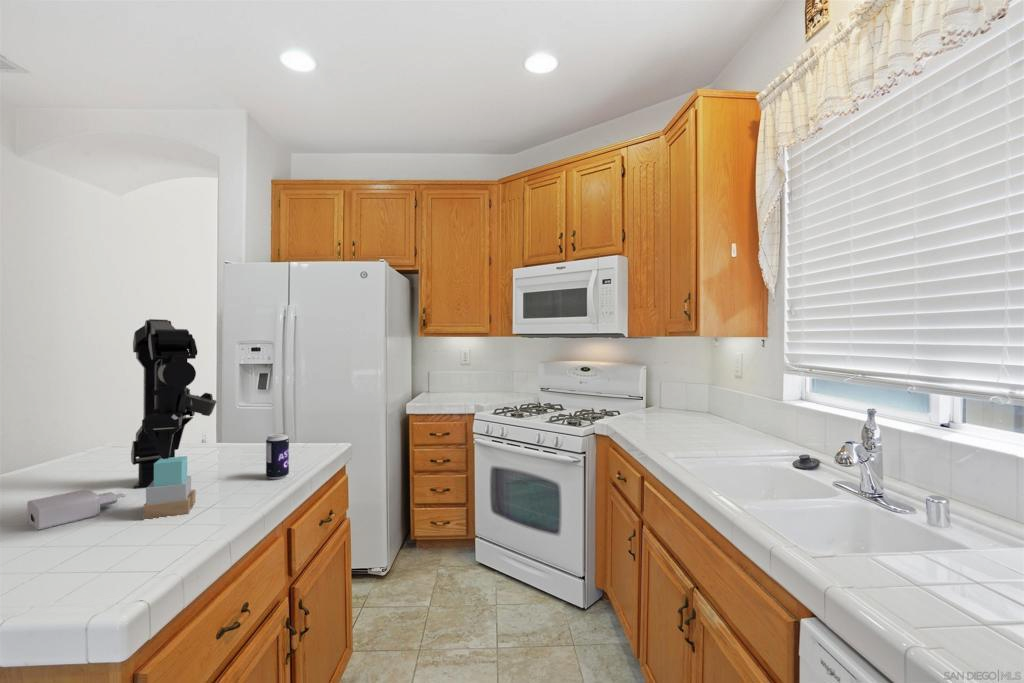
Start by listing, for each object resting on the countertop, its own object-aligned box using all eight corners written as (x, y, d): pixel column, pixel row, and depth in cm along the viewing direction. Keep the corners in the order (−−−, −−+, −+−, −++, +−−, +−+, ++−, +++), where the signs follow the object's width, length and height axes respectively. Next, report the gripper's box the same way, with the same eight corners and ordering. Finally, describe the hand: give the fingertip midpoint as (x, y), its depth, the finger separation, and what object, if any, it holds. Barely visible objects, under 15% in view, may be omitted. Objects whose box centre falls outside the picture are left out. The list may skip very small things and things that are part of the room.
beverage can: (279, 481, 124) (279, 437, 124) (261, 479, 125) (261, 436, 125) (293, 475, 130) (293, 433, 130) (275, 473, 131) (276, 432, 131)
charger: (131, 509, 104) (38, 532, 91) (117, 501, 109) (27, 522, 96) (131, 488, 104) (38, 508, 91) (117, 481, 109) (27, 499, 96)
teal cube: (160, 480, 103) (160, 458, 103) (187, 477, 105) (187, 456, 105) (153, 486, 99) (153, 463, 99) (181, 483, 101) (181, 461, 101)
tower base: (153, 509, 104) (153, 494, 104) (195, 504, 108) (195, 489, 108) (143, 522, 97) (143, 505, 97) (188, 516, 100) (188, 500, 100)
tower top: (153, 495, 104) (153, 479, 104) (191, 490, 107) (191, 475, 107) (146, 505, 97) (146, 488, 97) (185, 499, 101) (185, 484, 101)
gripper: (206, 386, 97) (206, 459, 97) (219, 380, 114) (219, 442, 114) (141, 389, 92) (141, 465, 92) (164, 381, 109) (164, 446, 109)
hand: (170, 454), depth 102 cm, fingers open, 9 cm apart
